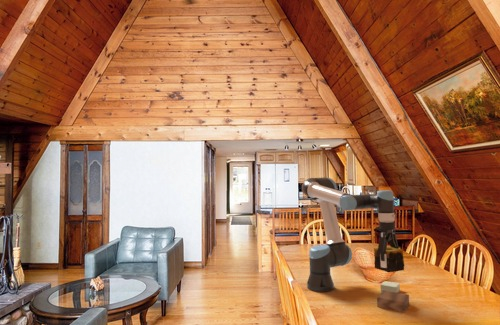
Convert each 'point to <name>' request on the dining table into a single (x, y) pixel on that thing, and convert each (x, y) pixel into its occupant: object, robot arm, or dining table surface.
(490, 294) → the dining table surface
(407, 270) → the dining table surface
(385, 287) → the sage block
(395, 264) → the candle
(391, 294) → the walnut plinth
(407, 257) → the dining table surface
